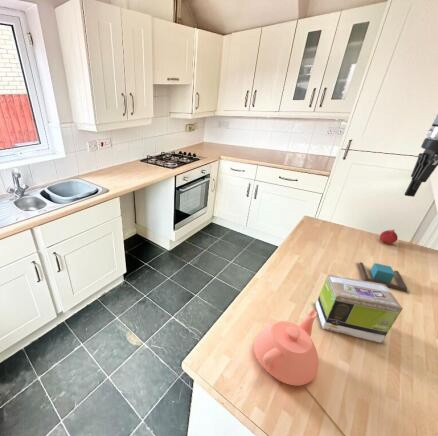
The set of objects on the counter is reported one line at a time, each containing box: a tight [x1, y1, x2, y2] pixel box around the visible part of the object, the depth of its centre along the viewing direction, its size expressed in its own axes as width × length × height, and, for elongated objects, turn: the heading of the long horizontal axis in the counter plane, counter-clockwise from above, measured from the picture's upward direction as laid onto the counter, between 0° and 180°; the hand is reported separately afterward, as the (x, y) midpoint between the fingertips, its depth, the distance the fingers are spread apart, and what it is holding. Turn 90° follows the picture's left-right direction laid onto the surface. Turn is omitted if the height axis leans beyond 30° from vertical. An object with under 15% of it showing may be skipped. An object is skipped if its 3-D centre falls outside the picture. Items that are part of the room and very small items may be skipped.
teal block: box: [369, 262, 395, 283], centre depth 93 cm, size 5×5×5 cm
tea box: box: [315, 274, 403, 343], centre depth 73 cm, size 15×10×15 cm, turn 70°
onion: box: [379, 228, 398, 245], centre depth 112 cm, size 6×6×8 cm
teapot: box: [253, 309, 319, 386], centre depth 64 cm, size 22×15×12 cm
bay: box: [358, 261, 408, 293], centre depth 94 cm, size 11×12×2 cm
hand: (409, 195), depth 103 cm, fingers closed
